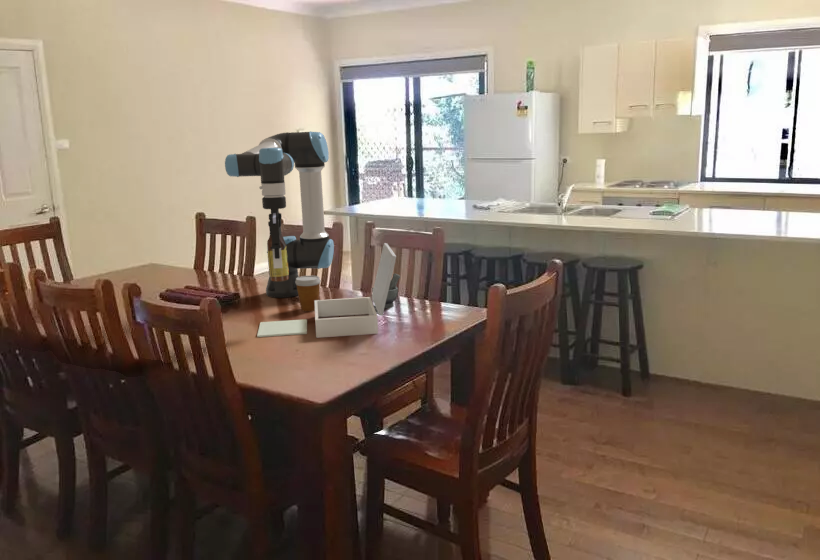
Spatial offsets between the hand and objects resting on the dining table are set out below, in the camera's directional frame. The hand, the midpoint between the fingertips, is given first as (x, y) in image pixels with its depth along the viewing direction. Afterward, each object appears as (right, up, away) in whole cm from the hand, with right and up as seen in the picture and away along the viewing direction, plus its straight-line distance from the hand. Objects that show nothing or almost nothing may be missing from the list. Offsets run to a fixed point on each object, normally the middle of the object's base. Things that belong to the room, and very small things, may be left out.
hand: (278, 265), depth 227 cm
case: (+21, -20, +8) cm, 30 cm away
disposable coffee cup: (+6, -16, +29) cm, 34 cm away
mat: (+1, -21, +5) cm, 22 cm away
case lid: (+34, -4, +6) cm, 35 cm away
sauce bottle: (0, -5, +1) cm, 5 cm away
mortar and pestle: (+35, -15, +31) cm, 49 cm away
